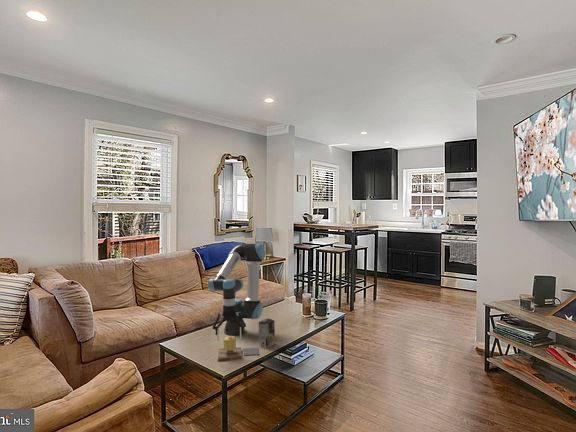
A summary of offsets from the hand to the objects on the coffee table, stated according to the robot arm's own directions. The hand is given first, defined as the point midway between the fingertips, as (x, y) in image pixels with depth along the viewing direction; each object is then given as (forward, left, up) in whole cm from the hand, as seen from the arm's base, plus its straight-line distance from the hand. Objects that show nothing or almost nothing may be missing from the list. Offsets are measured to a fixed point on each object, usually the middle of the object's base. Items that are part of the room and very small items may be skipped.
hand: (229, 339), depth 208 cm
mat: (-2, +13, -10) cm, 17 cm away
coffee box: (-11, +24, -10) cm, 29 cm away
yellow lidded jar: (0, 0, -6) cm, 6 cm away
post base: (0, 0, -10) cm, 10 cm away
